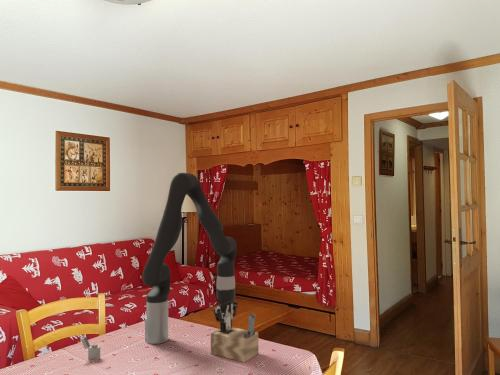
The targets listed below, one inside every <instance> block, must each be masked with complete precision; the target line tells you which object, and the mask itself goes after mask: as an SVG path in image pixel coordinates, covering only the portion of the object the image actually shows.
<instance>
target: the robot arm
mask: <svg viewBox="0 0 500 375" xmlns="http://www.w3.org/2000/svg"><path fill="white" fill-rule="evenodd" d="M186 196H188V197H189V198H190V199H191V201H192V203H193V204H194V206H195V209H196V213H197V217H198V220H199V222H200V224H201V226H202V228H203V229H204V231H205V233H206V234H207V236H208V238H209V241H210V244H211V246H212V249H213V251H214V252H215V253H216V254H218V255H219V256H220V258H219V261H218V262H217V265H216V299H217V300H218V303H217V307H214V308H213V313H214V317H215V321H216V322H217V323H218V322H219V325H220V326H219V329H220V330H221V332H226V317H227V315H228V312H230V313H231V329H232V327H233V319H234V318H235V317H236V316H237V315H236V314H237V311H238V310H237V309H238V306H239V302H238V301H234V300H235V299H236V278H235V262H236V257H237V248H238V247H237V242H236V240H235V239H234V237H232V236H226V235H225V234H224V232H223V230H224V226H223V224H222V222H221V221H220V219H219V218H218V217H217V214H216V213H215V212H214V210H213V208H212V206H211V205H210V203H209V200H208V198H207V196H206V194H205V192H204V190H203V188H202V186H201V184H200V180H199V179H198V177H197V176H196V175H195V174H193V173H189V172H177V173H176V174H174V176H173V177H172V178H171V181H170V185H169V190H168V195H167V200H166V204H165V207H164V211H163V214H162V217H161V220H160V223H159V226H158V229H157V233H156V237H155V240H154V242H153V245H152V248H151V252H150V254H149V256H148V258H147V261H146V263H145V265H144V268H143V272H142V281H143V283H144V285H145V286H147V287H152V288H151V290H150V291H149V292H148V293H147V294H146V299H145V300H146V317H145V318H144V341H146V343H147V344H150V345H158V344H164V343H166V342H167V341H169V295H170V293H171V277H172V276H171V269H170V267H169V265H168V264H167V263H165V262H164V261H165V259H166V257H167V255H168V254H169V253H170V251H171V250H172V249H173V248H174V247H175V245H176V244H177V241H178V240H179V238H180V235H181V230H182V228H183V214H182V210H183V204H184V200H185V198H186ZM222 313H225V314H222ZM222 316H223V318H222Z"/></svg>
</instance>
